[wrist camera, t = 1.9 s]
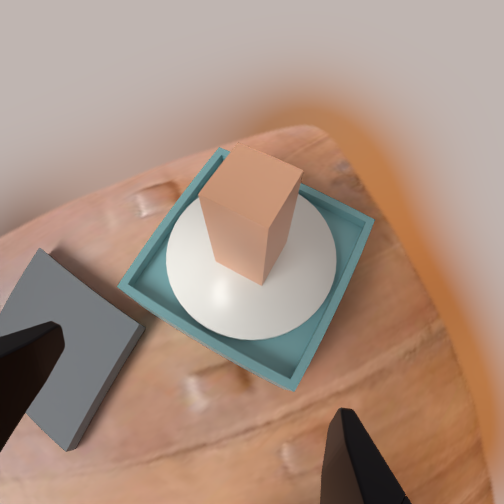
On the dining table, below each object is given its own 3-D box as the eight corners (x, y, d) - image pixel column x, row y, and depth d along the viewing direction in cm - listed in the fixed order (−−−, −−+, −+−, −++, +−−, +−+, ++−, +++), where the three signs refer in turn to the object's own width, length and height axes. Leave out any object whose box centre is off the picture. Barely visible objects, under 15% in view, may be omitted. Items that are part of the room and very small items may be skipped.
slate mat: (145, 327, 23) (139, 324, 21) (75, 449, 19) (65, 451, 17) (47, 254, 25) (39, 247, 23) (-11, 358, 21) (-21, 356, 19)
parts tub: (350, 254, 25) (374, 219, 20) (283, 389, 21) (294, 391, 16) (224, 192, 27) (219, 147, 22) (145, 309, 23) (117, 286, 18)
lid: (356, 229, 20) (402, 153, 13) (286, 372, 17) (313, 365, 10) (223, 166, 22) (214, 77, 15) (138, 286, 19) (80, 227, 11)
